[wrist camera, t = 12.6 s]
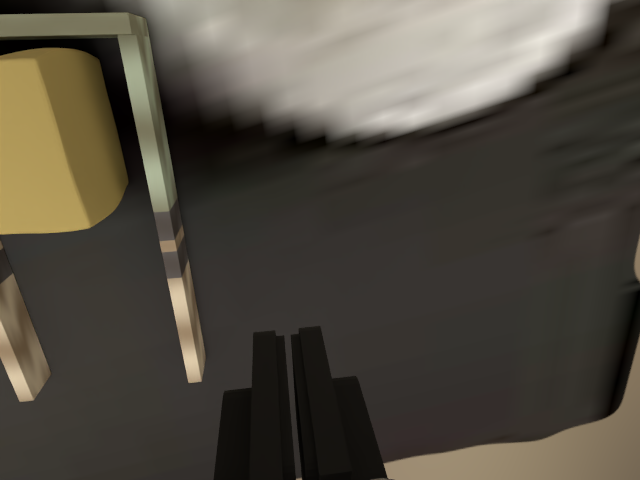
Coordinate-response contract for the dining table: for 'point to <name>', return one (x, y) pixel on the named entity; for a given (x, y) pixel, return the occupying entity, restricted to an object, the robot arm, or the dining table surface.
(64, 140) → the cheese
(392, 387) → the dining table surface
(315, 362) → the robot arm
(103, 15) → the track
